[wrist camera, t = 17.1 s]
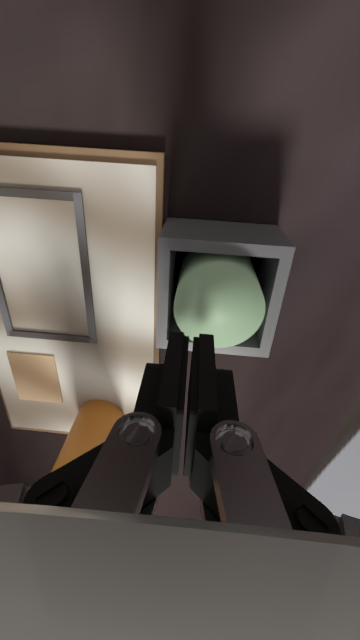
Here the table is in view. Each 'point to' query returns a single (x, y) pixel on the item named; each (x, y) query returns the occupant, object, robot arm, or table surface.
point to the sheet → (76, 278)
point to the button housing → (226, 241)
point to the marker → (88, 430)
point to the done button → (218, 298)
